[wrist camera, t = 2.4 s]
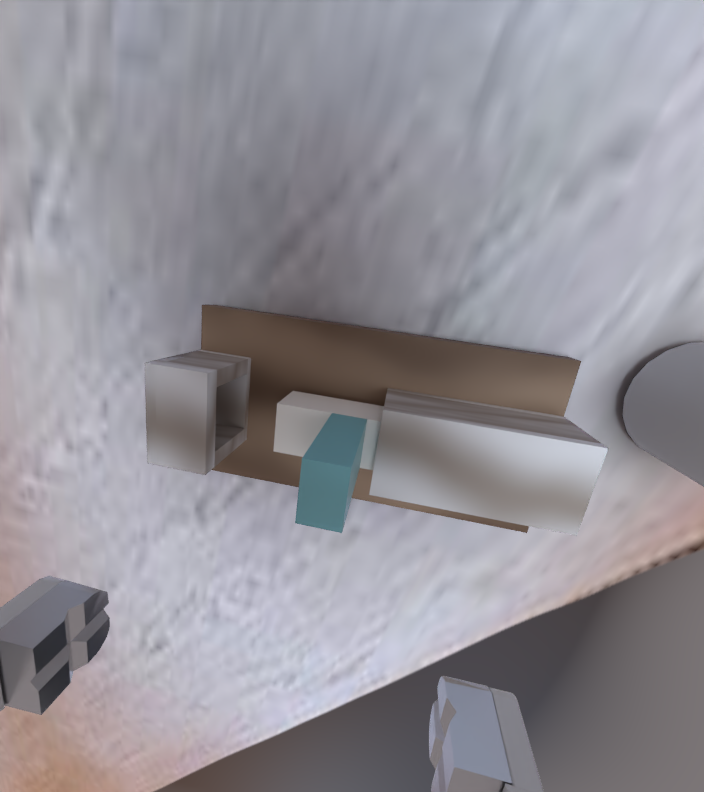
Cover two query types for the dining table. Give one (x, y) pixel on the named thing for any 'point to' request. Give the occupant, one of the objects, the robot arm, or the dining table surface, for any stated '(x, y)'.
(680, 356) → the can
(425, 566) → the dining table surface
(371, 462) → the white and teal block
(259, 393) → the brown board
